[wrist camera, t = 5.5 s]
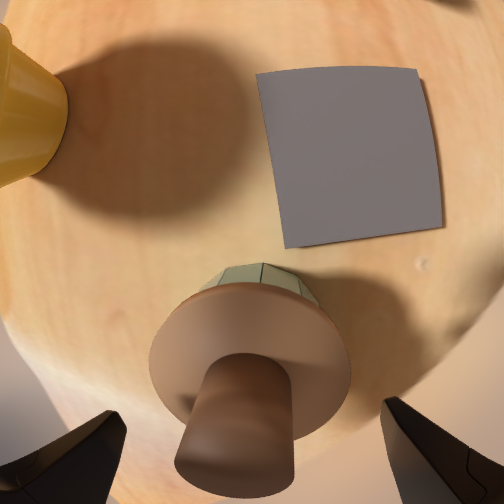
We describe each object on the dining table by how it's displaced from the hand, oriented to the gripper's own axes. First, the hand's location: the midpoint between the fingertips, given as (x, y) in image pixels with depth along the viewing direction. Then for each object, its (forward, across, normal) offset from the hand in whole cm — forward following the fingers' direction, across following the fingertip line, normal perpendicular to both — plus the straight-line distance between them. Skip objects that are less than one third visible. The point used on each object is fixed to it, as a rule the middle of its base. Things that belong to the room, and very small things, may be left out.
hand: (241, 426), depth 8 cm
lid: (+3, 0, 0) cm, 3 cm away
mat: (+7, -6, -8) cm, 12 cm away
